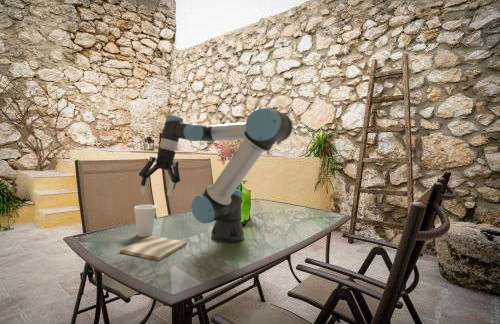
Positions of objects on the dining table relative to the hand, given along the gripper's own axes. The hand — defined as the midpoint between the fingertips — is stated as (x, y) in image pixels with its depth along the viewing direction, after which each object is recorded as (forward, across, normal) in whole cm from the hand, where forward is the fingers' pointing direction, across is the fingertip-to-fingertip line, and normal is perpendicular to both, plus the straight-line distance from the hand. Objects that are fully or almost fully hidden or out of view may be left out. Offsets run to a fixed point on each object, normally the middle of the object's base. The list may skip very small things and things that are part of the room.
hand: (156, 194), depth 122 cm
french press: (+9, -56, +8) cm, 57 cm away
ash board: (+19, +5, +15) cm, 25 cm away
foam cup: (+20, -1, -3) cm, 20 cm away
